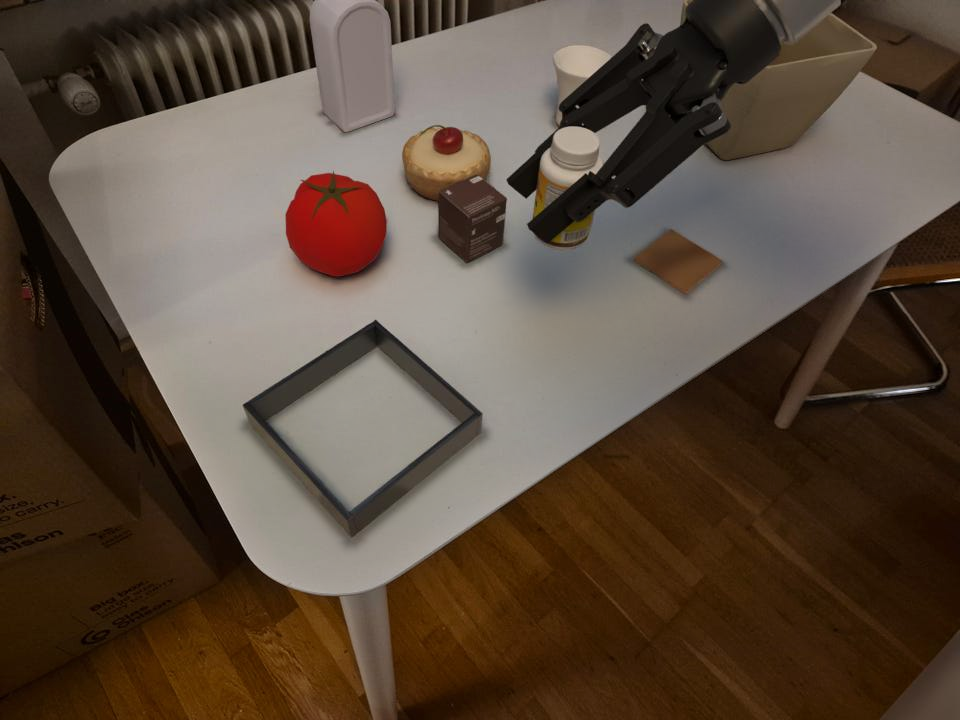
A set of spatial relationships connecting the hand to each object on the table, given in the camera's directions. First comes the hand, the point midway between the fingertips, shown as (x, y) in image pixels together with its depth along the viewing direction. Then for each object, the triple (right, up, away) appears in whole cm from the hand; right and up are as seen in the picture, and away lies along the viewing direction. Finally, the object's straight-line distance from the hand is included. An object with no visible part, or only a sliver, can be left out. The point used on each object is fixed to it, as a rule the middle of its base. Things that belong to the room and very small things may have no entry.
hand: (526, 210), depth 60 cm
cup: (+10, +23, +43) cm, 49 cm away
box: (-5, +1, +25) cm, 25 cm away
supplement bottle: (+3, -2, +3) cm, 5 cm away
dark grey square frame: (-16, -20, +6) cm, 26 cm away
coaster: (+21, -1, +24) cm, 32 cm away
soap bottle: (-22, +23, +41) cm, 52 cm away
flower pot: (+35, +22, +43) cm, 60 cm away
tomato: (-21, -1, +21) cm, 30 cm away
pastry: (-9, +11, +32) cm, 35 cm away
